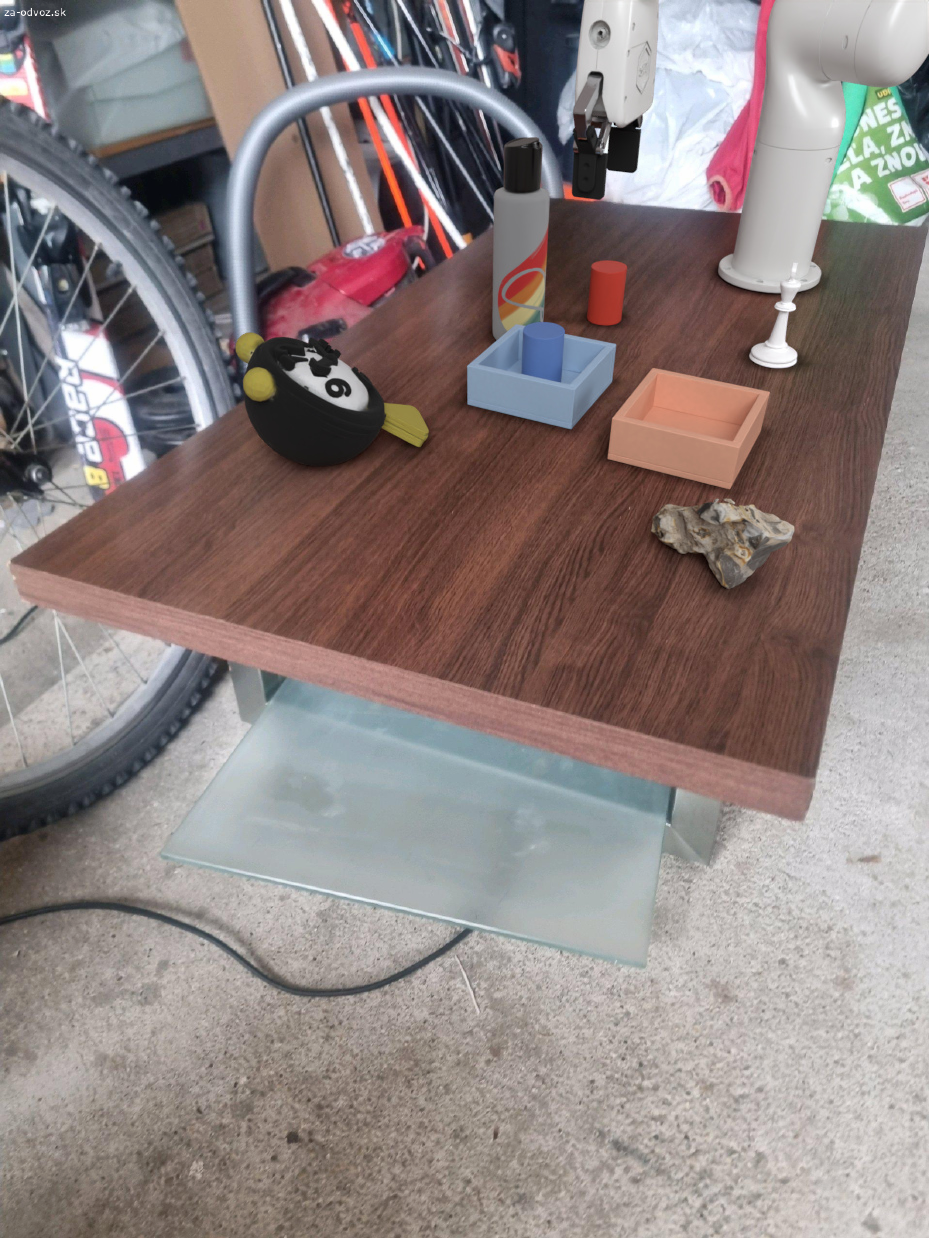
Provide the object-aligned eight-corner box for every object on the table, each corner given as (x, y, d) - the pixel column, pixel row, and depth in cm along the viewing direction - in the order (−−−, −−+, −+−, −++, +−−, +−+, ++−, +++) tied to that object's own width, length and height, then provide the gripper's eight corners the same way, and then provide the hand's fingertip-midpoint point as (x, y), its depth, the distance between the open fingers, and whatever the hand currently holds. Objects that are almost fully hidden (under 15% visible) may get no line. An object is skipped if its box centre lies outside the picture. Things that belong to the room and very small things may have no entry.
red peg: (594, 309, 103) (598, 258, 99) (626, 315, 102) (632, 263, 98) (581, 321, 101) (586, 269, 97) (614, 328, 99) (620, 275, 95)
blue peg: (530, 376, 89) (533, 319, 85) (566, 384, 87) (571, 326, 83) (514, 392, 86) (516, 334, 82) (551, 400, 85) (554, 342, 81)
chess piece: (797, 352, 94) (822, 257, 87) (795, 371, 90) (820, 274, 84) (751, 346, 95) (771, 252, 89) (747, 364, 92) (768, 269, 85)
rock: (617, 566, 63) (739, 531, 56) (627, 483, 66) (745, 440, 59) (686, 613, 68) (807, 586, 61) (693, 534, 71) (809, 500, 64)
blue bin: (514, 361, 93) (515, 323, 90) (612, 382, 89) (616, 343, 86) (467, 404, 85) (466, 365, 83) (571, 429, 82) (574, 389, 79)
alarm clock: (391, 525, 77) (327, 417, 64) (262, 486, 82) (179, 380, 69) (448, 422, 80) (399, 300, 67) (321, 392, 86) (253, 274, 73)
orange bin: (647, 406, 85) (652, 367, 82) (760, 432, 81) (770, 391, 78) (607, 459, 78) (611, 418, 75) (729, 490, 74) (739, 447, 71)
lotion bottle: (538, 348, 95) (548, 146, 82) (488, 344, 96) (489, 144, 83) (545, 327, 99) (556, 132, 86) (496, 324, 100) (500, 130, 87)
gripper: (631, -14, 69) (611, 214, 80) (691, -36, 80) (667, 165, 91) (544, -16, 71) (536, 204, 83) (614, -38, 83) (600, 158, 94)
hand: (605, 184), depth 87 cm, fingers open, 9 cm apart
